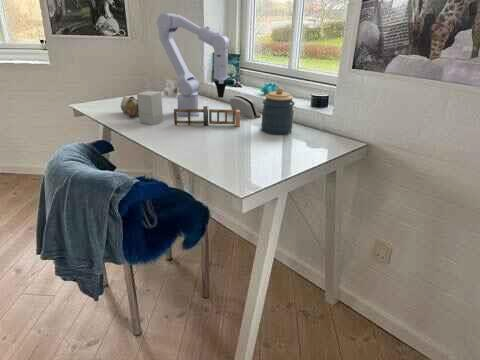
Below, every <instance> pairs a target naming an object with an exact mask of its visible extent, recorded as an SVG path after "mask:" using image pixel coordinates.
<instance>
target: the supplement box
mask: <svg viewBox="0 0 480 360" xmlns="http://www.w3.org/2000/svg"><path fill="white" fill-rule="evenodd" d="M136 97H137V99H136V100H138V110H139V115H138V118H139V123H140V124H145V125H150V126H155V125H157V124H160V123H162V122H164V114H163V102H162V101H163V100H162V92H160V91H153V90H145V91H141V92H139V93H137V94H136Z"/></svg>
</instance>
